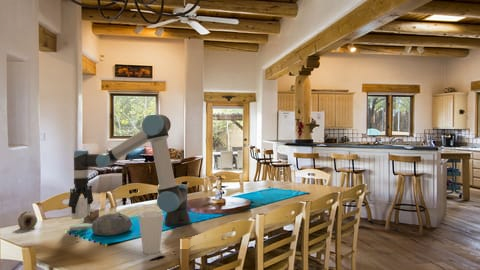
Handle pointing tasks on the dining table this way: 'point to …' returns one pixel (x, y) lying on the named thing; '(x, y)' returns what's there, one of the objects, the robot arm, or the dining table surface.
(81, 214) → the mug
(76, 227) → the coaster
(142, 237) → the cup
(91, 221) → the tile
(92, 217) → the walnut block
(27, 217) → the grey rounded ring
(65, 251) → the dining table surface
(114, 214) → the decorative stone
